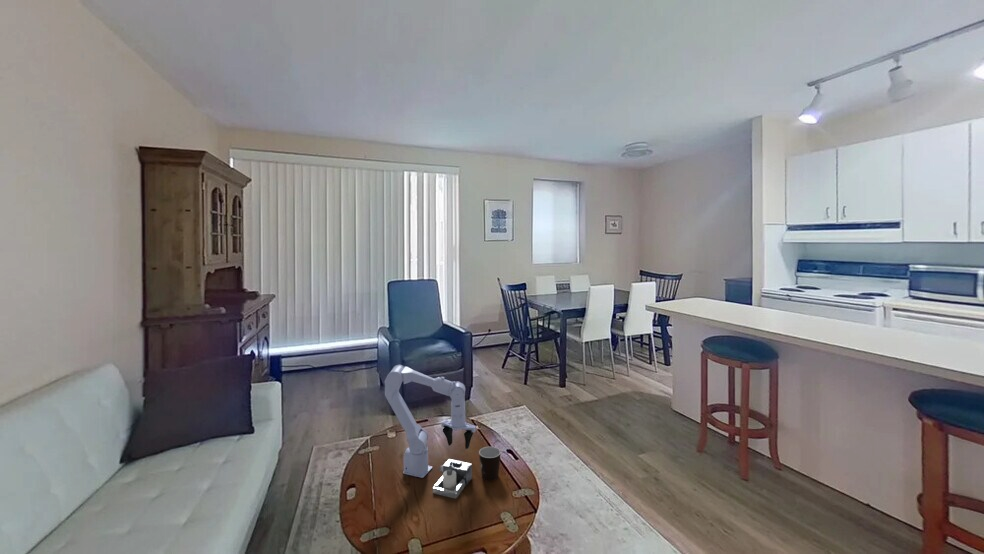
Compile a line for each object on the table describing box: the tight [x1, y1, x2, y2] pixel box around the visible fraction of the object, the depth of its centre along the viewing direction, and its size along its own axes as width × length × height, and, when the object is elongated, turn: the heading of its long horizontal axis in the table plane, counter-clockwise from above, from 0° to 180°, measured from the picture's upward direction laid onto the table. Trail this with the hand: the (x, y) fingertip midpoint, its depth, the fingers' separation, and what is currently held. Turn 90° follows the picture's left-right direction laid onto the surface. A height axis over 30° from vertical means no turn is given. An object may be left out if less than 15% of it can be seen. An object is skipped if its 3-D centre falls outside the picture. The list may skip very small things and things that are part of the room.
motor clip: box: [432, 458, 473, 500], centre depth 149 cm, size 12×14×7 cm
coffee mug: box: [478, 446, 502, 482], centre depth 156 cm, size 12×9×10 cm
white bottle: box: [442, 469, 457, 491], centre depth 147 cm, size 5×5×7 cm
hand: (458, 446), depth 158 cm, fingers open, 7 cm apart
